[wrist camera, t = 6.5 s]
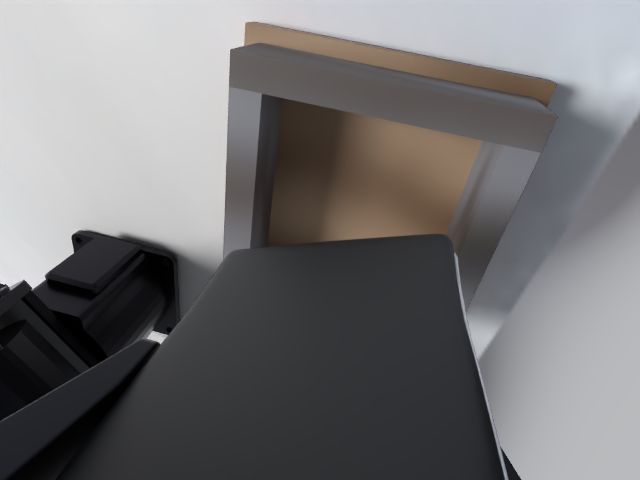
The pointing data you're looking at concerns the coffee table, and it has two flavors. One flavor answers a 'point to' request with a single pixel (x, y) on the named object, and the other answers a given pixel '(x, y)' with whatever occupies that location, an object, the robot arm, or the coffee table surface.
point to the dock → (375, 145)
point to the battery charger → (310, 374)
